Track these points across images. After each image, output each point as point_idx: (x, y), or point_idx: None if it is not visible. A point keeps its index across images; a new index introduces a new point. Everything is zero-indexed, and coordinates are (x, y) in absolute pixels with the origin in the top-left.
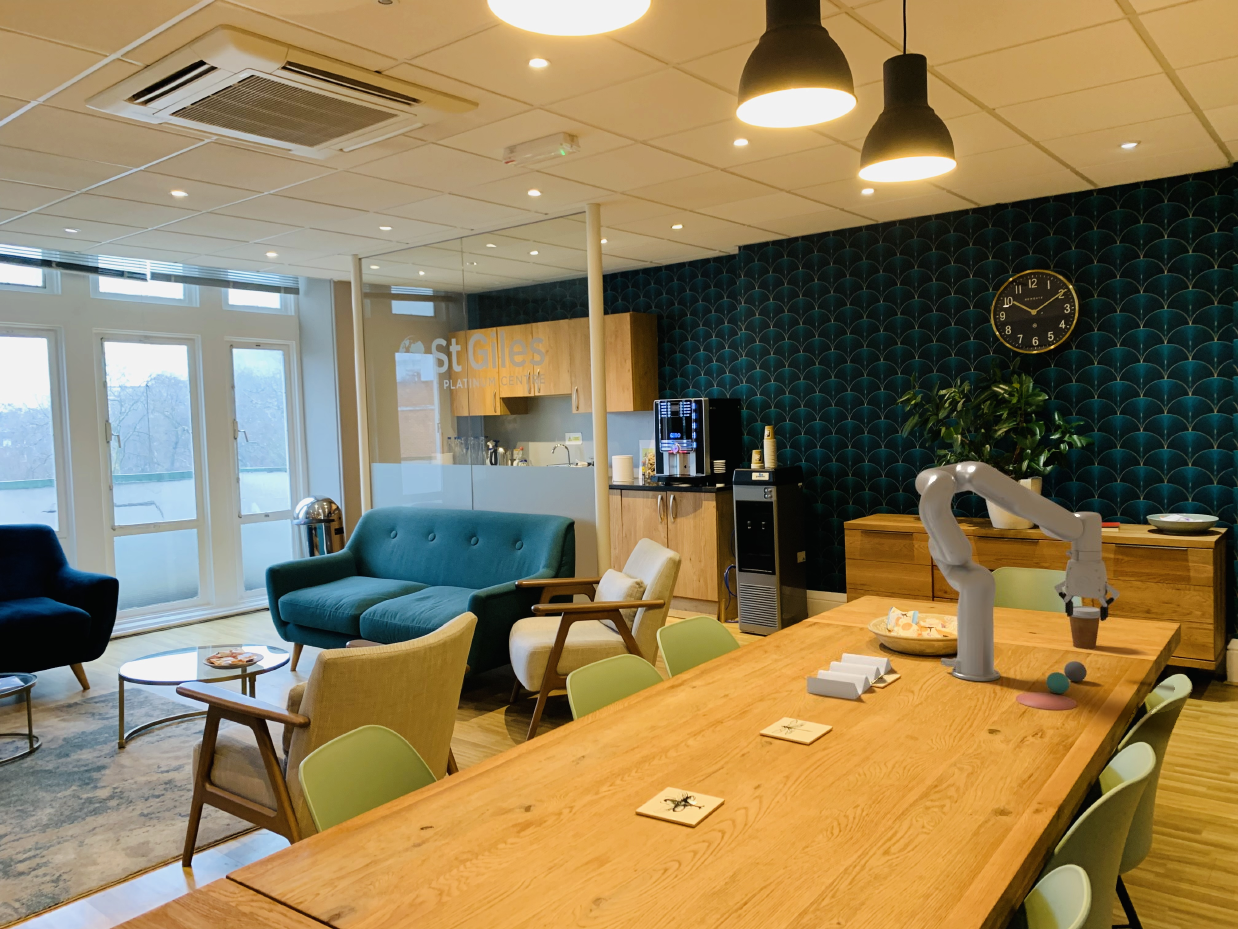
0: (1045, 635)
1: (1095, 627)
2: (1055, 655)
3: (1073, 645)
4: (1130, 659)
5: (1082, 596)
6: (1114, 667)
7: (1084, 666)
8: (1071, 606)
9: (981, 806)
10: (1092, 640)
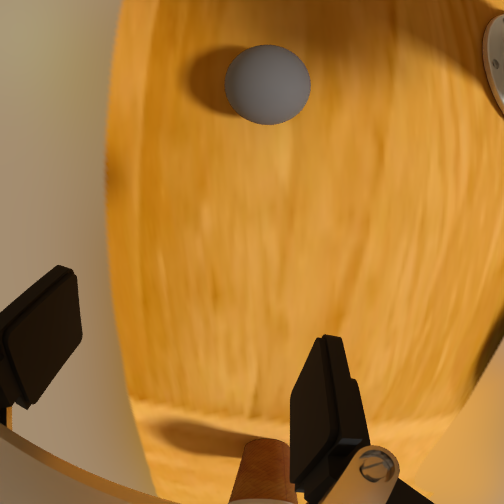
0: None
1: (238, 482)
2: None
3: (289, 448)
4: (162, 393)
5: (104, 489)
6: (176, 319)
7: (229, 85)
8: (306, 432)
9: None
10: (248, 456)
